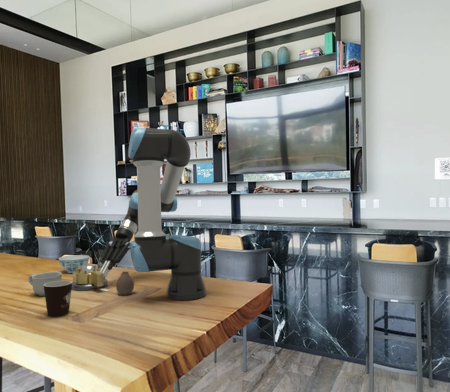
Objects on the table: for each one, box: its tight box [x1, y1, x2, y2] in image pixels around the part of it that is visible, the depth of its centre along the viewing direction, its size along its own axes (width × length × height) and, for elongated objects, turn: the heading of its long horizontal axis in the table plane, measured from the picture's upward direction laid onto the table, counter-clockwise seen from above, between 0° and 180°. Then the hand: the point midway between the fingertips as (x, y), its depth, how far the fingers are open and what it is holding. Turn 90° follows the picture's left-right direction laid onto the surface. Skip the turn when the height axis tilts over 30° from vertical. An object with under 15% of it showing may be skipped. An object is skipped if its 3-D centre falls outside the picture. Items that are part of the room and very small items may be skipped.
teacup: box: [28, 271, 63, 297], centre depth 144 cm, size 14×11×8 cm
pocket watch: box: [96, 256, 103, 269], centre depth 171 cm, size 8×8×10 cm
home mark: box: [98, 288, 110, 292], centre depth 147 cm, size 5×1×1 cm, turn 51°
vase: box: [115, 270, 135, 296], centre depth 141 cm, size 7×7×9 cm
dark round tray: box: [71, 264, 109, 292], centre depth 155 cm, size 15×15×9 cm
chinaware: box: [58, 254, 90, 274], centre depth 187 cm, size 15×15×8 cm
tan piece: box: [72, 266, 106, 287], centre depth 152 cm, size 20×12×5 cm, turn 39°
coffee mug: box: [44, 280, 73, 318], centre depth 119 cm, size 12×9×10 cm
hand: (102, 275), depth 150 cm, fingers closed
